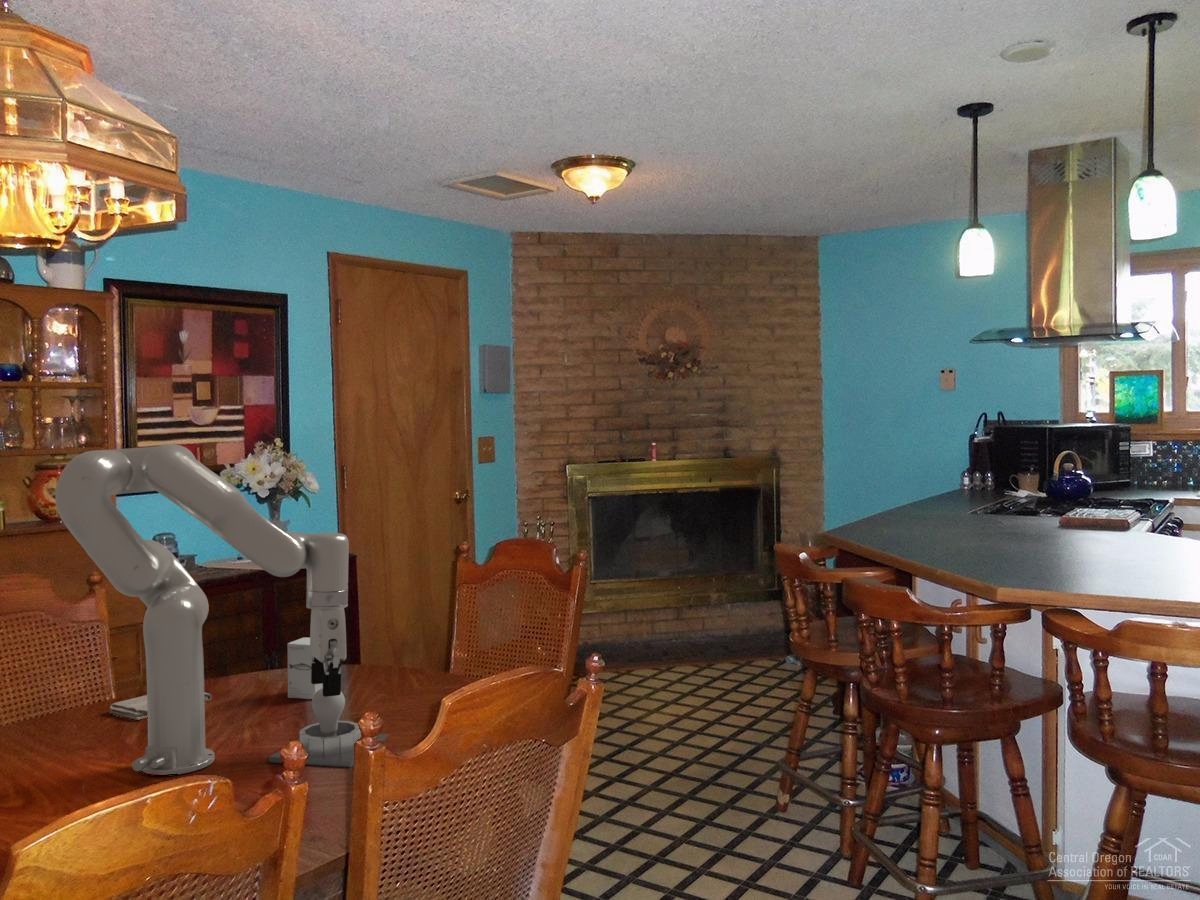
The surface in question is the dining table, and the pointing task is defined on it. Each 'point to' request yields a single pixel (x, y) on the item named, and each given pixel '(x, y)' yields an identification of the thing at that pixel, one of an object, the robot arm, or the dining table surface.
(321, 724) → the lightbulb
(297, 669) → the supplement box
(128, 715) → the washcloth
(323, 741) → the duct collar
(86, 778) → the dining table surface
